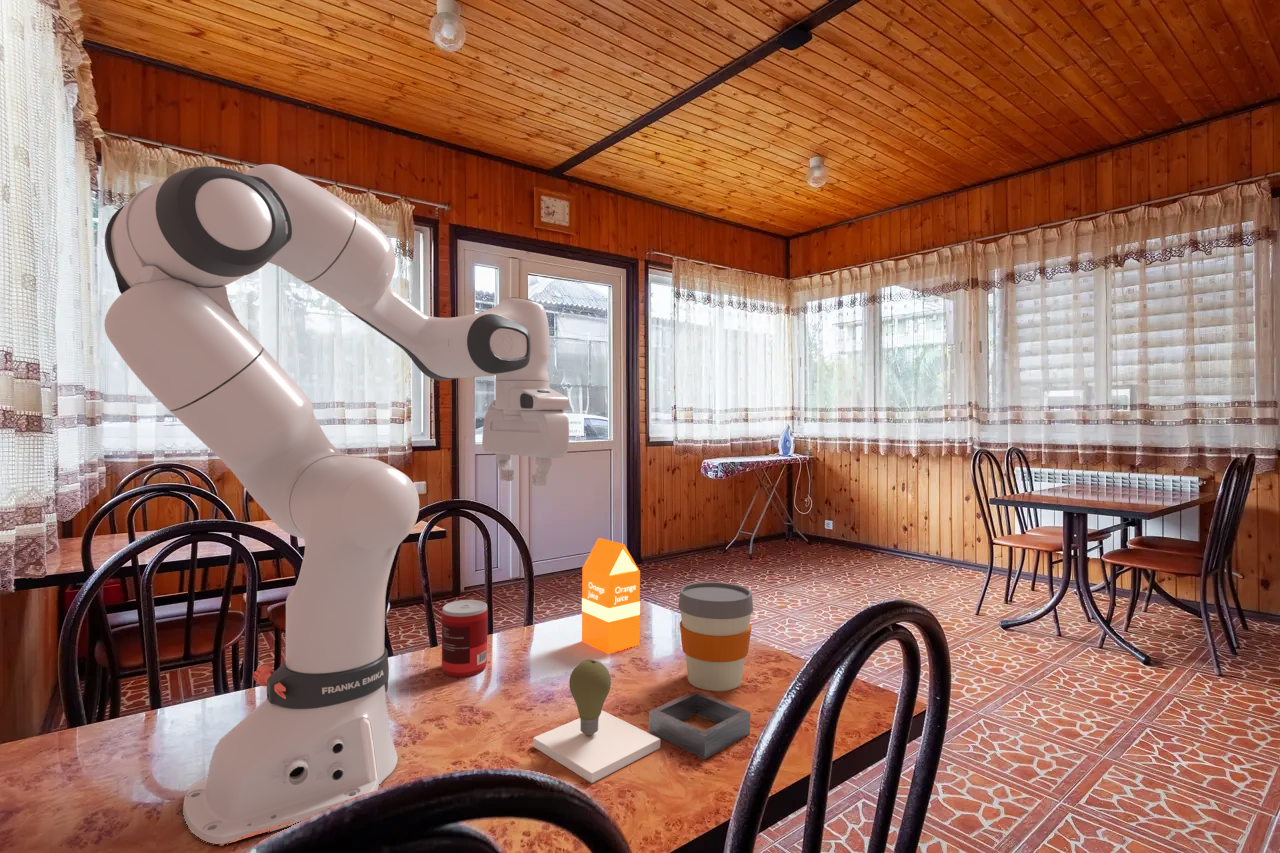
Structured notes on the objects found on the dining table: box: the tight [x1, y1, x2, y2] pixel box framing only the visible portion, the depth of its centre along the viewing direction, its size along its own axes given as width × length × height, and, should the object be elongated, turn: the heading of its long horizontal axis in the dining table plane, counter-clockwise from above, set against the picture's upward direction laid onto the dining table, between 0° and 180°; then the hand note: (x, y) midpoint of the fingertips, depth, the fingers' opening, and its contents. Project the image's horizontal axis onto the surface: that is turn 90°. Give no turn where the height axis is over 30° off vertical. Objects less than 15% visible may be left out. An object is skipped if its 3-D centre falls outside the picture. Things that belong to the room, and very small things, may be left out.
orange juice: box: [581, 537, 641, 655], centre depth 126 cm, size 8×9×20 cm
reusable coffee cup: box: [678, 581, 754, 692], centre depth 109 cm, size 13×13×15 cm
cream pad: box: [532, 709, 661, 784], centre depth 86 cm, size 12×12×1 cm
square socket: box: [648, 689, 751, 760], centre depth 90 cm, size 10×10×3 cm
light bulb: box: [569, 659, 612, 736], centre depth 87 cm, size 6×6×10 cm
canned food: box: [441, 599, 489, 678], centre depth 112 cm, size 8×8×11 cm
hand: (522, 483), depth 107 cm, fingers open, 8 cm apart
